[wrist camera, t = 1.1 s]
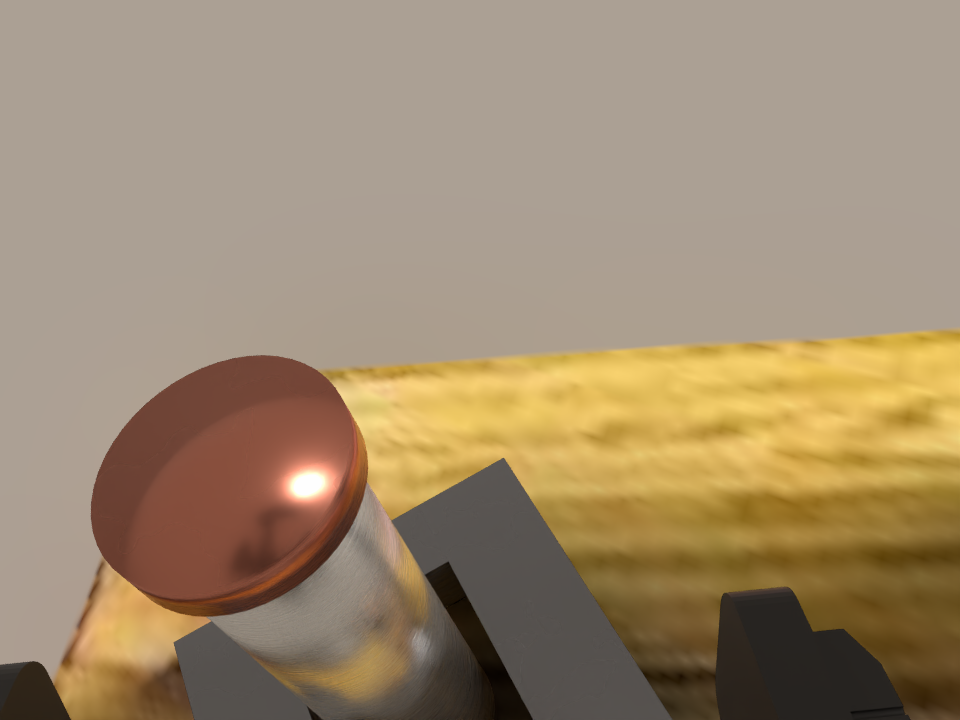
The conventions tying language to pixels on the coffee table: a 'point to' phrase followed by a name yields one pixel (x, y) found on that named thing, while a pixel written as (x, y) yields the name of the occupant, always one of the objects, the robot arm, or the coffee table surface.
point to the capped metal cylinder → (282, 543)
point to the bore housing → (497, 602)
